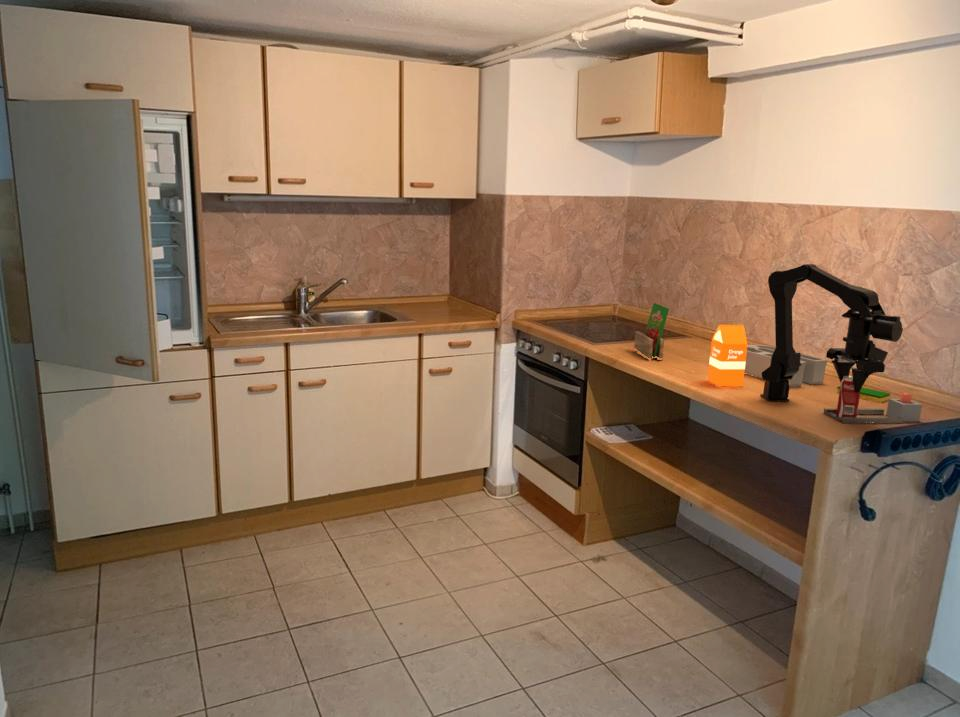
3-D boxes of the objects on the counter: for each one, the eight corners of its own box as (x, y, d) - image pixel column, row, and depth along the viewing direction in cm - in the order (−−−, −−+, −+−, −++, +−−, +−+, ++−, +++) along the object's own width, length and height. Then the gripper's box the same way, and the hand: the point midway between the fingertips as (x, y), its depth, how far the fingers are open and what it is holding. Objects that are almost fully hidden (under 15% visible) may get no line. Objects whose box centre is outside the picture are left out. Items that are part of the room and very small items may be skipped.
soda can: (838, 414, 215) (844, 374, 212) (858, 418, 212) (864, 377, 209) (833, 418, 211) (839, 377, 209) (853, 422, 208) (859, 380, 205)
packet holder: (648, 360, 277) (650, 339, 275) (633, 351, 293) (635, 331, 291) (662, 360, 277) (664, 340, 276) (647, 351, 294) (648, 331, 292)
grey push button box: (899, 421, 210) (902, 404, 209) (886, 415, 216) (888, 398, 215) (919, 421, 211) (922, 404, 210) (905, 415, 217) (907, 398, 216)
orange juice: (742, 387, 243) (750, 327, 239) (717, 387, 242) (724, 326, 237) (731, 380, 251) (737, 322, 246) (706, 381, 249) (713, 322, 245)
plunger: (902, 412, 212) (905, 395, 210) (896, 409, 214) (898, 392, 213) (911, 412, 212) (914, 395, 211) (904, 409, 215) (907, 392, 214)
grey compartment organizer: (789, 388, 244) (793, 363, 242) (726, 369, 268) (729, 346, 266) (824, 384, 251) (827, 359, 249) (760, 366, 275) (762, 343, 274)
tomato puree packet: (638, 351, 293) (652, 302, 289) (640, 351, 293) (655, 302, 289) (652, 360, 278) (668, 308, 274) (655, 360, 278) (670, 309, 274)
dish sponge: (879, 404, 230) (881, 396, 229) (835, 393, 240) (836, 386, 240) (889, 400, 234) (891, 393, 234) (845, 390, 245) (847, 383, 244)
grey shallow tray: (842, 423, 206) (843, 418, 206) (823, 413, 216) (824, 408, 215) (902, 423, 209) (903, 418, 208) (880, 413, 218) (881, 408, 217)
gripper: (907, 342, 198) (898, 398, 202) (864, 329, 216) (856, 381, 220) (868, 341, 197) (860, 398, 200) (828, 329, 215) (821, 381, 218)
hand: (850, 389), depth 210 cm, fingers open, 6 cm apart
